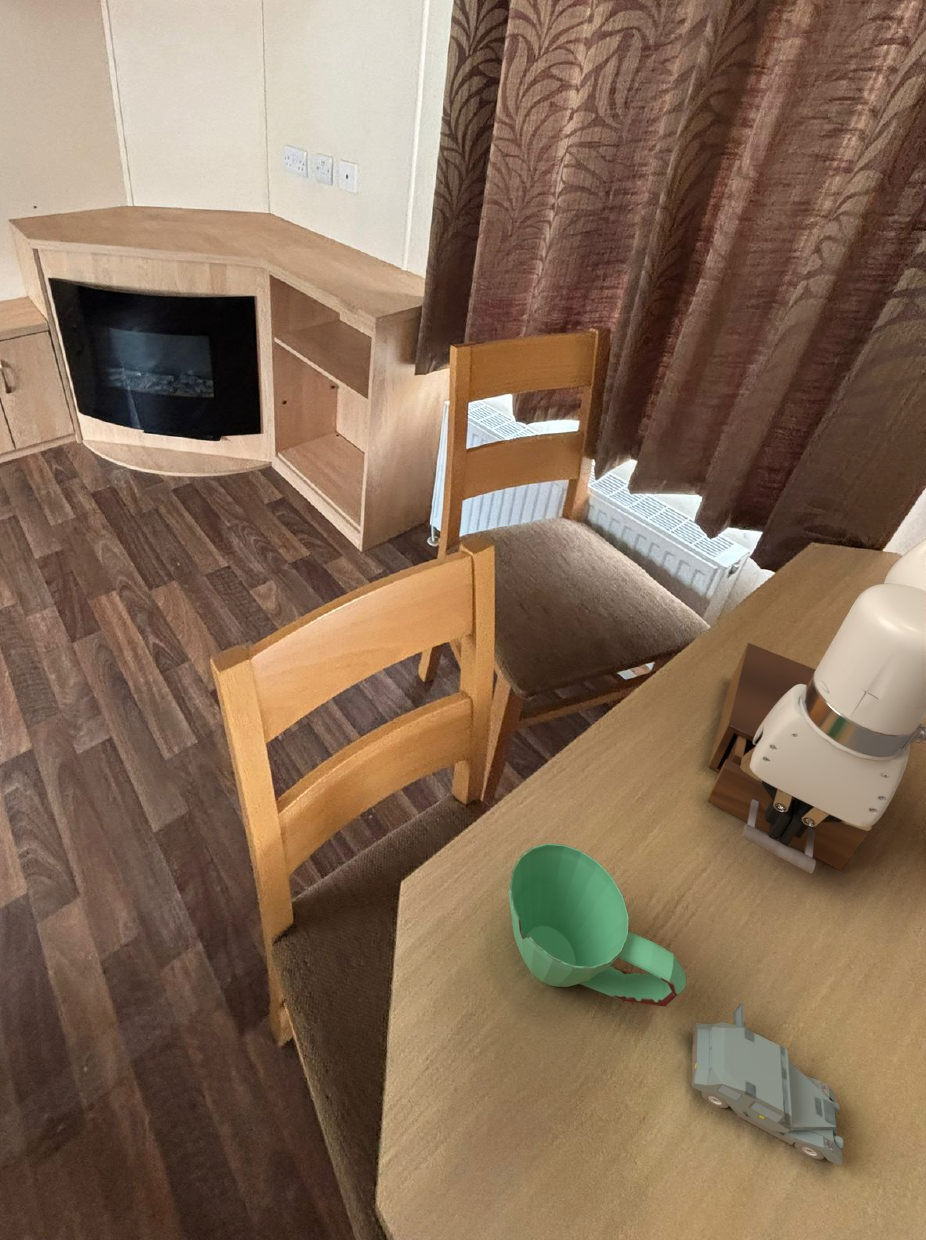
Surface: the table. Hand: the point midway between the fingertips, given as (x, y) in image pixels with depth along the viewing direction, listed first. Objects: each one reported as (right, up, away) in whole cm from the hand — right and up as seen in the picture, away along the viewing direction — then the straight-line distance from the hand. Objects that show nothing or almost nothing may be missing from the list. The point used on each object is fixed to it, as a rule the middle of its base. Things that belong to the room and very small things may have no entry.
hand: (778, 829), depth 68 cm
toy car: (-10, -14, -12) cm, 21 cm away
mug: (-23, -10, -6) cm, 25 cm away
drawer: (+4, -1, +7) cm, 8 cm away
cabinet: (+9, +2, +13) cm, 15 cm away
